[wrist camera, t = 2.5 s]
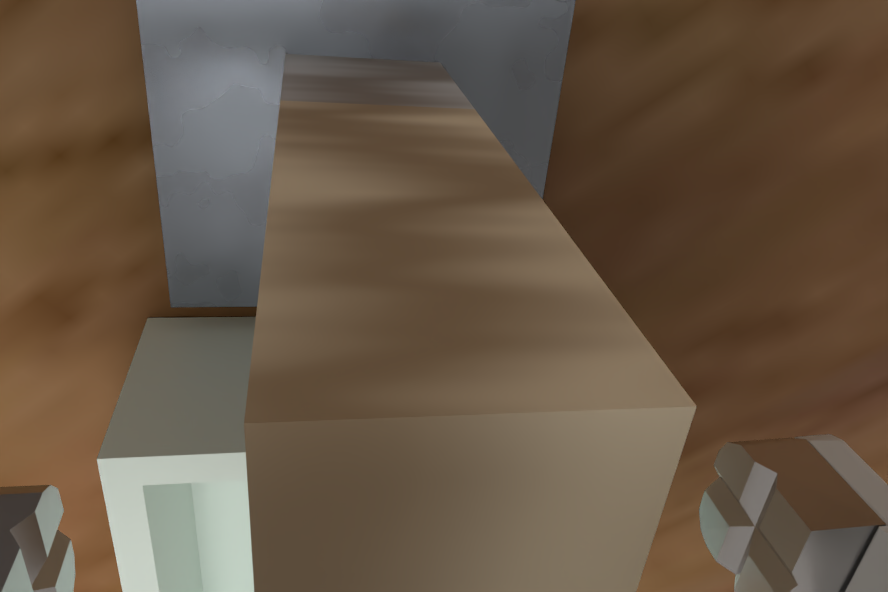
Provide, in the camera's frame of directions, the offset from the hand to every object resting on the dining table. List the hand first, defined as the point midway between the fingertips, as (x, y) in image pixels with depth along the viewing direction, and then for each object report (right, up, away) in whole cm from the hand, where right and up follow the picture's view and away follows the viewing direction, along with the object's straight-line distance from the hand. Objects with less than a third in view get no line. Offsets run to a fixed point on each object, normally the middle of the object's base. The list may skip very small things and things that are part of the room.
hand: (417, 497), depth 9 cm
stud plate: (-2, +8, +13) cm, 16 cm away
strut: (-2, +7, +13) cm, 15 cm away
